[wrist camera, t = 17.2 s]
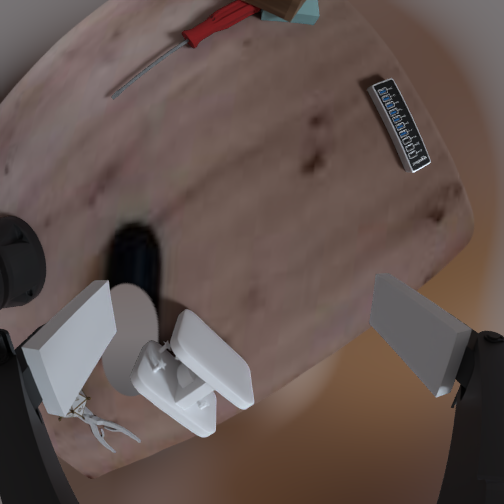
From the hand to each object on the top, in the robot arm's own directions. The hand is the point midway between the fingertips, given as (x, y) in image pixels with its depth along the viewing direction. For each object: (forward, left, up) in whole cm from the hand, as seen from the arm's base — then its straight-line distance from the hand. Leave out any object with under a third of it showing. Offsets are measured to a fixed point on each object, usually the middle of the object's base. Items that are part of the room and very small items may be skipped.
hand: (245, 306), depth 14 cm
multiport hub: (+25, +15, -29) cm, 41 cm away
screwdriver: (-7, +26, -29) cm, 39 cm away
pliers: (-29, -40, -29) cm, 57 cm away
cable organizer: (-6, -21, -29) cm, 36 cm away
